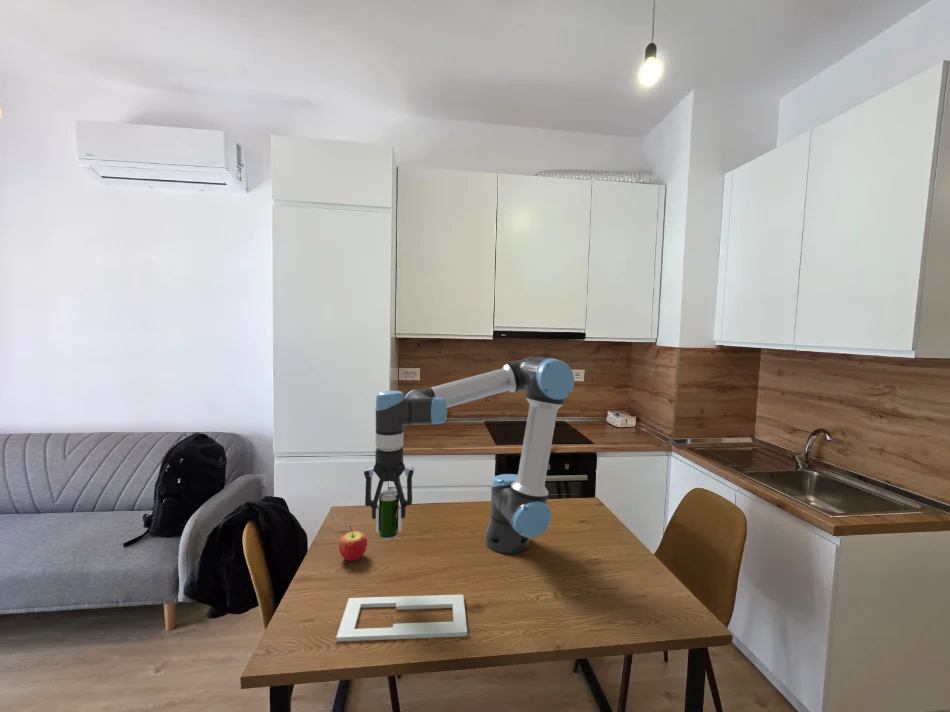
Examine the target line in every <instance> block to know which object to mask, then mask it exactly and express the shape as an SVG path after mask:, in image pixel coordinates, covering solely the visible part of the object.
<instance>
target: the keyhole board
mask: <svg viewBox="0 0 950 712" xmlns="http://www.w3.org/2000/svg"><path fill="white" fill-rule="evenodd" d="M464 597H465V596H464V594H441V595H439V594H437V595H434V594H433V595H409V596H408V595H407V596H406V595H404V596H403V595H401V596H400V595H399V596H378V597H376V596H375V597H374V596H372V597H371V596H370V597H349V598H348V599H347V603H346V607H345V610H344V612H343V615H342V618H341V620H340V621H341V622H340V624H339V628H338V631H337V634H336V636H335V639H336V642H358V641H360V642H361V641H362V642H363V641H382V640H383V641H384V640H405V639H406V640H408V639H410V640H411V639H430V638H431V639H432V638H433V639H434V638H435V639H437V638H454V637H455V638H456V637H459V638H460V637H468V627H467V620H466V619H467V618H466V617H467V616H466V609H465V599H464ZM391 607H395V610H398V611H399V610H423V609H424V610H425V609H426V610H429V609H430V610H431V609H451V608H452V619H453V620H452V621H435V622H433V621H432V622H430V621H429V622H404V623H403V622H402V623H401V622H400V623H393V624H392V627H374V628H373V627H371V628H370V627H368V628H367V627H366V628H356V627H357V624H358V619H359V615H360V612H361V609H362V608H364V609H365V608H391Z"/></svg>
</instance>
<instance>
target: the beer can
mask: <svg viewBox="0 0 950 712" xmlns="http://www.w3.org/2000/svg"><path fill="white" fill-rule="evenodd" d="M399 504H400V501H399V498H398V494H397V490H393V489H388V490H384V491H381V493H380V496H379V499H378V505H379V532H378V535H379V538H380V539H381V540H385V541H391V540H395V538H397V537H398V535H399V533H400V531H398V507H399Z"/></svg>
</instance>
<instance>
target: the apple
mask: <svg viewBox="0 0 950 712" xmlns="http://www.w3.org/2000/svg"><path fill="white" fill-rule="evenodd" d="M349 528H350V531H348V532H346V533H344V534H343V535H342V536H341V537H340V539H339V542H338V548H339V549H338V550H339V553H340V555H341V557H342V558H343V559H344V560H346V561H348V562H354V561H358V560H360V559H361V558H363V556H364V554H365V552H366V551H367V547H368V538H367V536H366V535H365V534H364V533H363V532H361V531H358V530H353V529H352V526H351V525H349Z"/></svg>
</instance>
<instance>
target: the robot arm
mask: <svg viewBox="0 0 950 712" xmlns="http://www.w3.org/2000/svg"><path fill="white" fill-rule="evenodd" d="M574 387H575V375H574V372H573V370H572V368H571V367H570V366H569V364H567V362H565V361H563V360H560V359H557V358H554V357H542V356H529V357H527V358H523V359H521V360H519V359H518V360H516V361H513V362H511V363H506V364H504V365H503V367H502V368H500V369H495V370H492V371H487V372H485V373H479V374H477V375H474V376H473V375H472V376H469V377H465V378H462V379H461V378H460V379H459V380H458V379H457V380H453V381H450V382H447V383H443V384H439V385H435V386H432V387H427V388H424V389H412V390H410V391H409V392H408V393H406V394H405V396H404V392H403V391H400V390H383V391H379V392H378V393H377V395H376V397H375V399H376V400H375V409H374V410H375V447H376V449H375V459H374V460H375V463H374V465H373V467H370V468H368V467H367V468H365V469H364V472H363V475H364V478H365V497H364V498H365V499H364V501H365V503H364V505H365V506H366V507H370V508H371V518H372V520H375V532H376V533H379V497H380V493H381V492H382V489H383V486H384V483H386V482H391V483H393V484H394V487H395V491H397V494H398V498H399V507H398V531H399V532H401V531H402V527H403V526H402V522H403V521H402V519H405V518H406V513H407V512H406V511H407V510H406V509H407V506H411V505H412V504H413V475H414V471H415V469H414V467H406V465H405V464H404V448H403V447H404V427H405V426H426V425H428V426H429V425H432V426H433V425H434V426H435V425H438V424H439V425H440V424H444V423H445V422H446V420H447V416H448V408H450V407H455V406H458V405H460V404H461V405H462V404H465V403H469V402H472V401H476V400H479V399H483V398H486V397H490V396H493V395H494V396H495V395H497V394H501V393H505V392H508V391H509V392H510V393H516V392H520V391H521V392H522V391H526V395H525V399H526V400H527V402H528V404H529V406H528V413H527V419H526V424H525V430H524V434H523V435H524V437H523V440H522V441H523V443H522V449H521V454H520V459H519V465H518V466H519V467H518V470H517V471H518V472H517V474H513V473H502V474H498V475H495V476H494V477H493V478H492V481H491V486H490V487H491V492H490V493H491V494H490V495H491V498H490V518H489V519H490V520H489V522H488V526H487V528H486V531H485V534H484V543H485V545H486V546H487V547H488V548H489V549H490V550H492V551H495V552H498V553H501V554H502V553H503V554H510V555H511V554H518V553H522V552H524V551H526V550H527V549H528V548H529V546H530V538H536V537H539V535H541V534H542V533H544V532H545V531H546V530H547V529H548V528H549V526H550V524H551V520H552V512H551V509H550V507H549V506H548V504H547V503H548V497H549V491H548V488H547V487H546V485H545V484H546V479H547V473H548V468H549V467H548V466H549V461H550V456H551V449H552V445H553V444H552V443H553V439H554V438H553V437H554V431H555V427H556V426H555V425H556V419H557V414H558V410H559V409H561V407H563V406H564V402H565V399H566V398H567V397H568V396H569V395H570V394H571V393H572V391H573V389H574ZM374 473H375V475H376V476H377V477H378V478H379V480H378V484H377V486H376V491H375V493H374V498H373V499H372V485H373V484H372V483H373V482H372V481H373V478H372V477H373V476H374ZM403 473H404V474H405V476H406V492H407V493H406V496H407V498H406V497H405V493H404V491H403V486H402V483H401V478H400V477H401V476H402V474H403Z"/></svg>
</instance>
